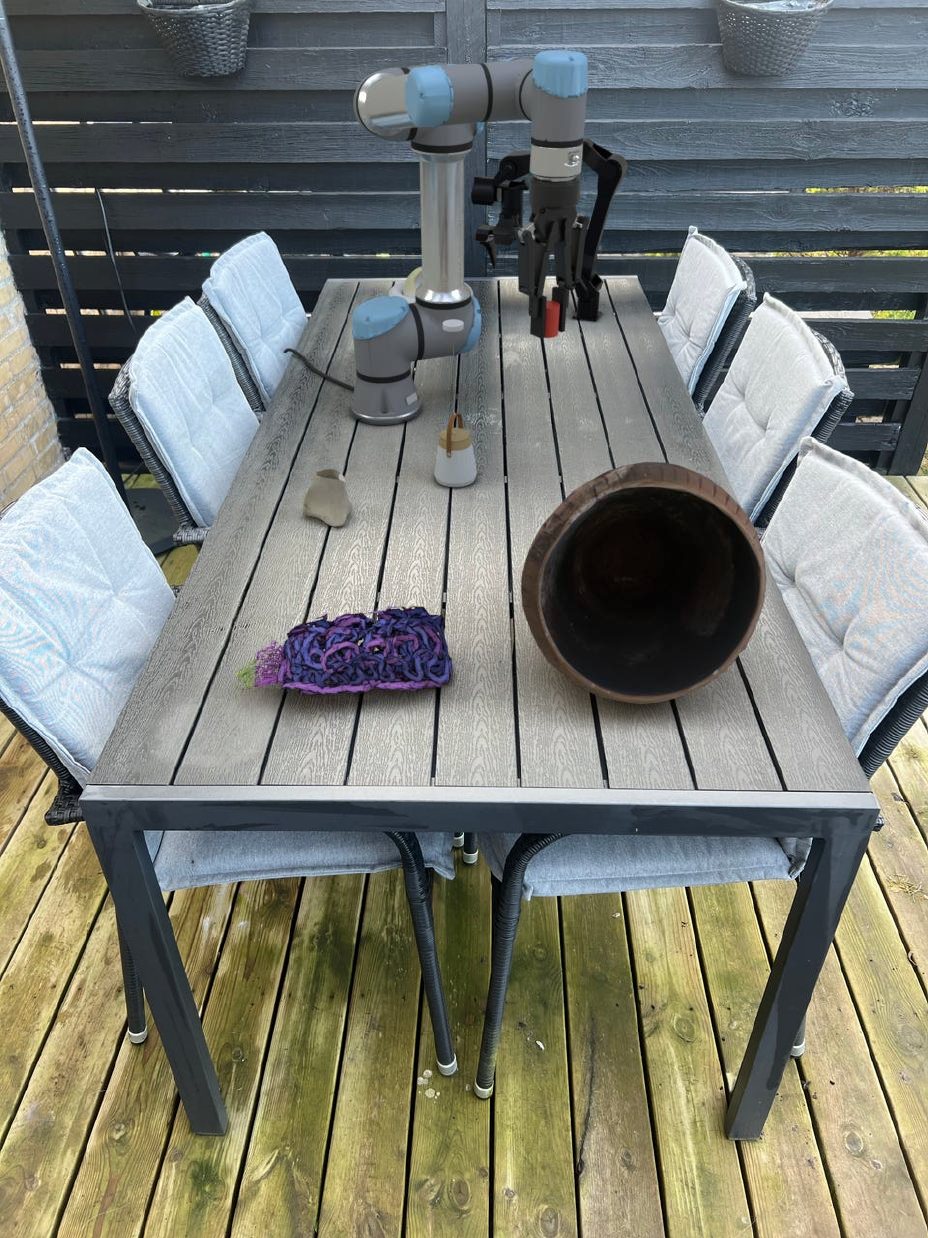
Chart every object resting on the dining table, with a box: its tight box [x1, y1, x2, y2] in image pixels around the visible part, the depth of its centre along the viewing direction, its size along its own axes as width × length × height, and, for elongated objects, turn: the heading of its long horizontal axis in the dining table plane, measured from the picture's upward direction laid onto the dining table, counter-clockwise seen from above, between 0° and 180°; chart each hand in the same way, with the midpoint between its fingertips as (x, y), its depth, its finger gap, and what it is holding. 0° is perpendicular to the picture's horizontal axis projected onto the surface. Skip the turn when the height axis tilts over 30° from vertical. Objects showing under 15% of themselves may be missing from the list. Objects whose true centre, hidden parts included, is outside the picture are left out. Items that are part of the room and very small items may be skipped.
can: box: [544, 299, 560, 339], centre depth 149 cm, size 4×4×5 cm
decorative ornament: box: [235, 605, 454, 697], centre depth 129 cm, size 13×11×30 cm
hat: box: [387, 266, 474, 304], centre depth 239 cm, size 25×22×15 cm
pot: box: [520, 461, 767, 705], centre depth 132 cm, size 32×32×30 cm
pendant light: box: [433, 319, 478, 488], centre depth 169 cm, size 8×8×30 cm
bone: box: [301, 468, 353, 528], centre depth 164 cm, size 9×8×10 cm
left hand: (547, 332), depth 150 cm, fingers closed on can, 4 cm apart
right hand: (510, 269), depth 247 cm, fingers open, 9 cm apart
